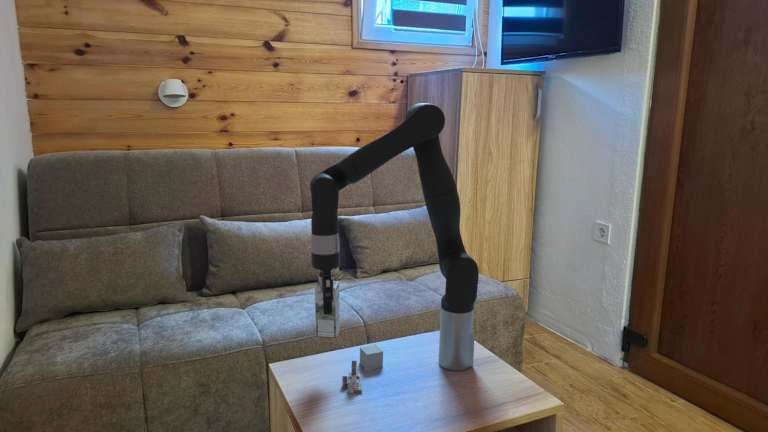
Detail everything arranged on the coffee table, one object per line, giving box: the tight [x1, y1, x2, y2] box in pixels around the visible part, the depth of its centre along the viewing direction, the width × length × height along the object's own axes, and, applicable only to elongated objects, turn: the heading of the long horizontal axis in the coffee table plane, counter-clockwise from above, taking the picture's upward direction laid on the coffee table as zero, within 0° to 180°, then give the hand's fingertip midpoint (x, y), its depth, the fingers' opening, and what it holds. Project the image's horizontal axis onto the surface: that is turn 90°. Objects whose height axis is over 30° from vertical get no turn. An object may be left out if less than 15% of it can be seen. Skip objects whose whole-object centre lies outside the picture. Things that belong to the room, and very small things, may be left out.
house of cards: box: [341, 360, 363, 394], centre depth 142 cm, size 9×9×8 cm
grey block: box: [359, 344, 384, 371], centre depth 153 cm, size 5×5×5 cm
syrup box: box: [314, 280, 341, 339], centre depth 145 cm, size 6×6×14 cm
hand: (326, 308), depth 145 cm, fingers closed on syrup box, 6 cm apart
